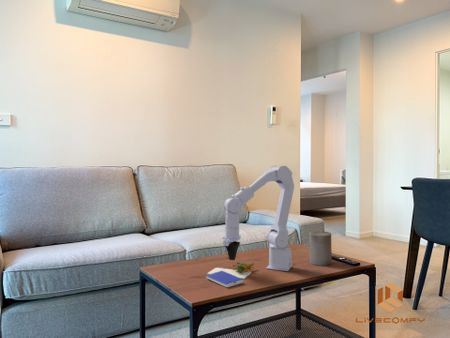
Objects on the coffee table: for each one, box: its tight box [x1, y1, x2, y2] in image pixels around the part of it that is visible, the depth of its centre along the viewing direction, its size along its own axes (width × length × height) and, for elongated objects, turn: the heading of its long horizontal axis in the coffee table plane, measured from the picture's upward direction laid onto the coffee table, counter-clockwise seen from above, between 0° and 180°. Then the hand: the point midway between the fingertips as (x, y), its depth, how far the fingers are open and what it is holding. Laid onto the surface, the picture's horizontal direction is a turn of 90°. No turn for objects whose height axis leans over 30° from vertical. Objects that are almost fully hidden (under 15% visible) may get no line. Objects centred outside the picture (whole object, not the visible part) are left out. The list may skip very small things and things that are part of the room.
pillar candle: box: [308, 230, 333, 267], centre depth 165 cm, size 10×10×15 cm
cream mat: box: [206, 267, 252, 280], centre depth 149 cm, size 16×9×1 cm, turn 67°
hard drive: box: [205, 271, 244, 288], centre depth 139 cm, size 2×8×12 cm
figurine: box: [232, 262, 255, 273], centre depth 151 cm, size 3×12×8 cm
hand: (232, 259), depth 151 cm, fingers closed
